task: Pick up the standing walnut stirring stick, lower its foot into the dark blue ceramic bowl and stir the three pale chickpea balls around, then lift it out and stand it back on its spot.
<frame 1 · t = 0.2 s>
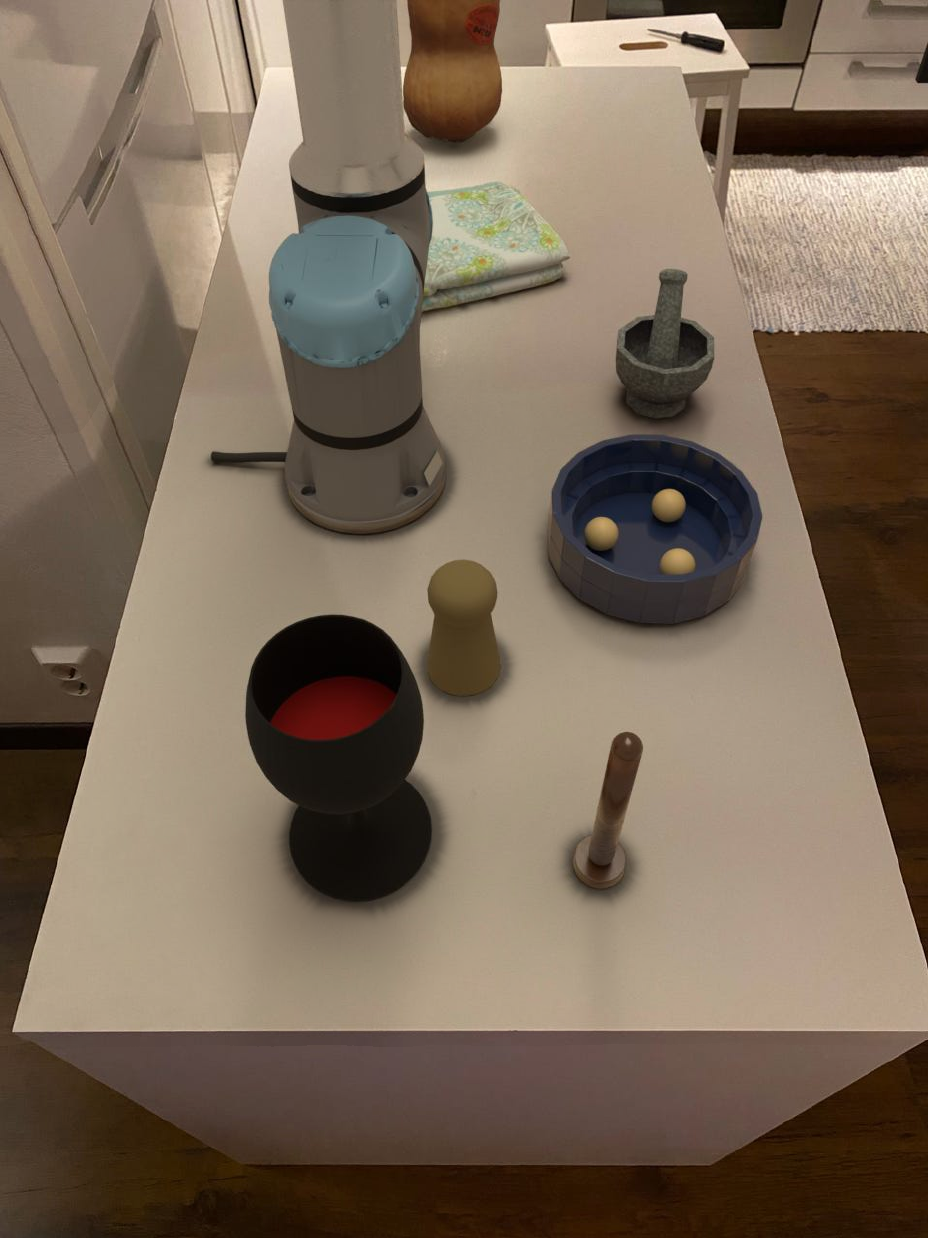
chickpea 3: (677, 565, 81), point 2 cm above the counter, touching bowl
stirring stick: (598, 864, 67), on the counter
chickpea 1: (668, 505, 86), point 2 cm above the counter, touching bowl
towel: (461, 262, 115), on the counter
chickpea 2: (601, 533, 84), point 2 cm above the counter, touching bowl
butternut squash: (454, 138, 135), on the counter
wine glass: (361, 834, 69), on the counter
mortar and pestle: (655, 396, 99), on the counter
bowl: (645, 550, 85), on the counter
cork: (463, 666, 78), on the counter
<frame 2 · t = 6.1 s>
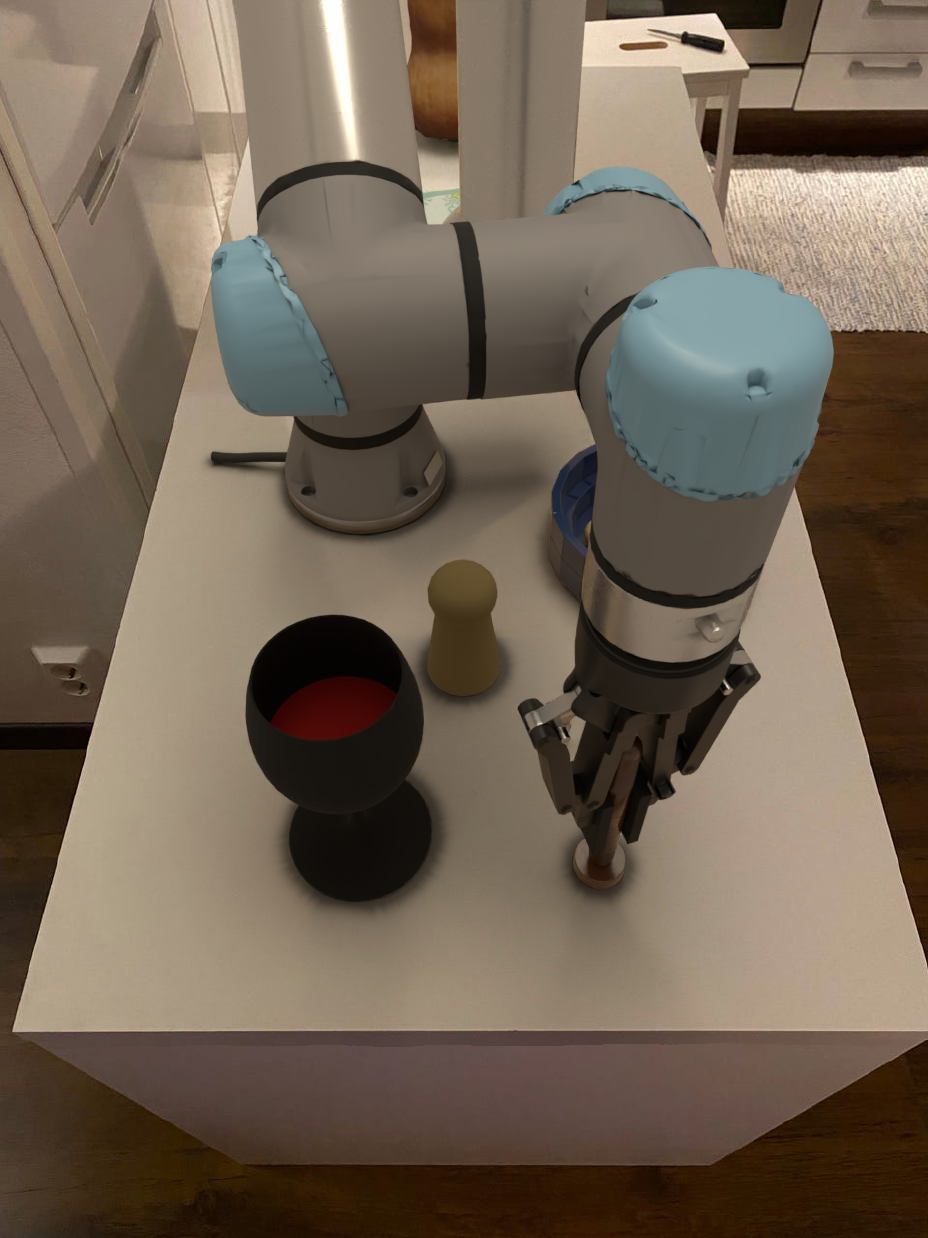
hand: (606, 830, 62), 5 cm above the counter, tool pointing down, fingers closed on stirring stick, 2 cm apart
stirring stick: (598, 864, 67), on the counter, touching gripper
everything else where it was.
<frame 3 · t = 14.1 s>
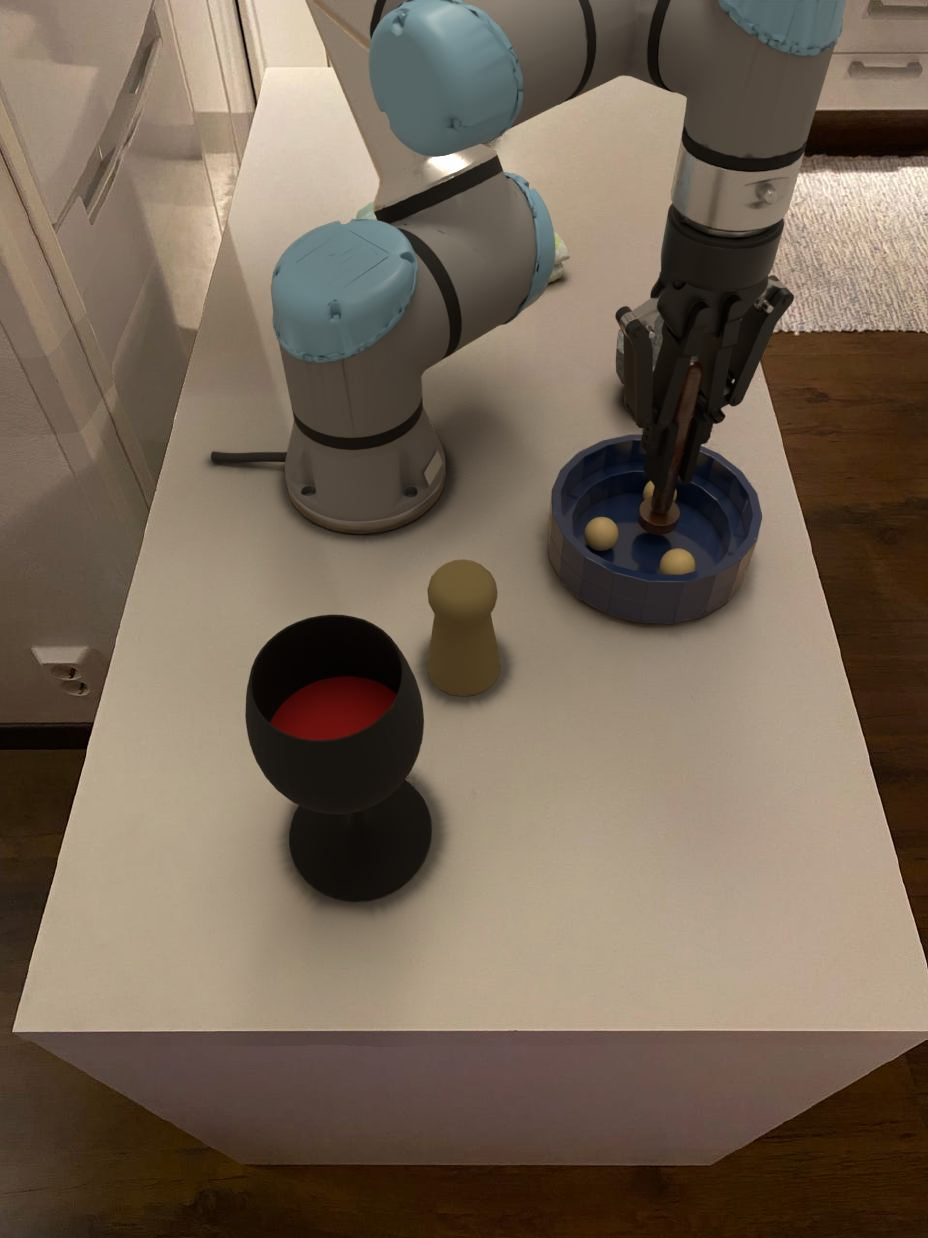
hand: (667, 474, 80), 8 cm above the counter, tool pointing down, fingers closed on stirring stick, 2 cm apart
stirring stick: (657, 520, 84), point 2 cm above the counter, touching gripper
chickpea 1: (659, 494, 87), point 2 cm above the counter, tilted 61°, touching bowl
everything else where it was.
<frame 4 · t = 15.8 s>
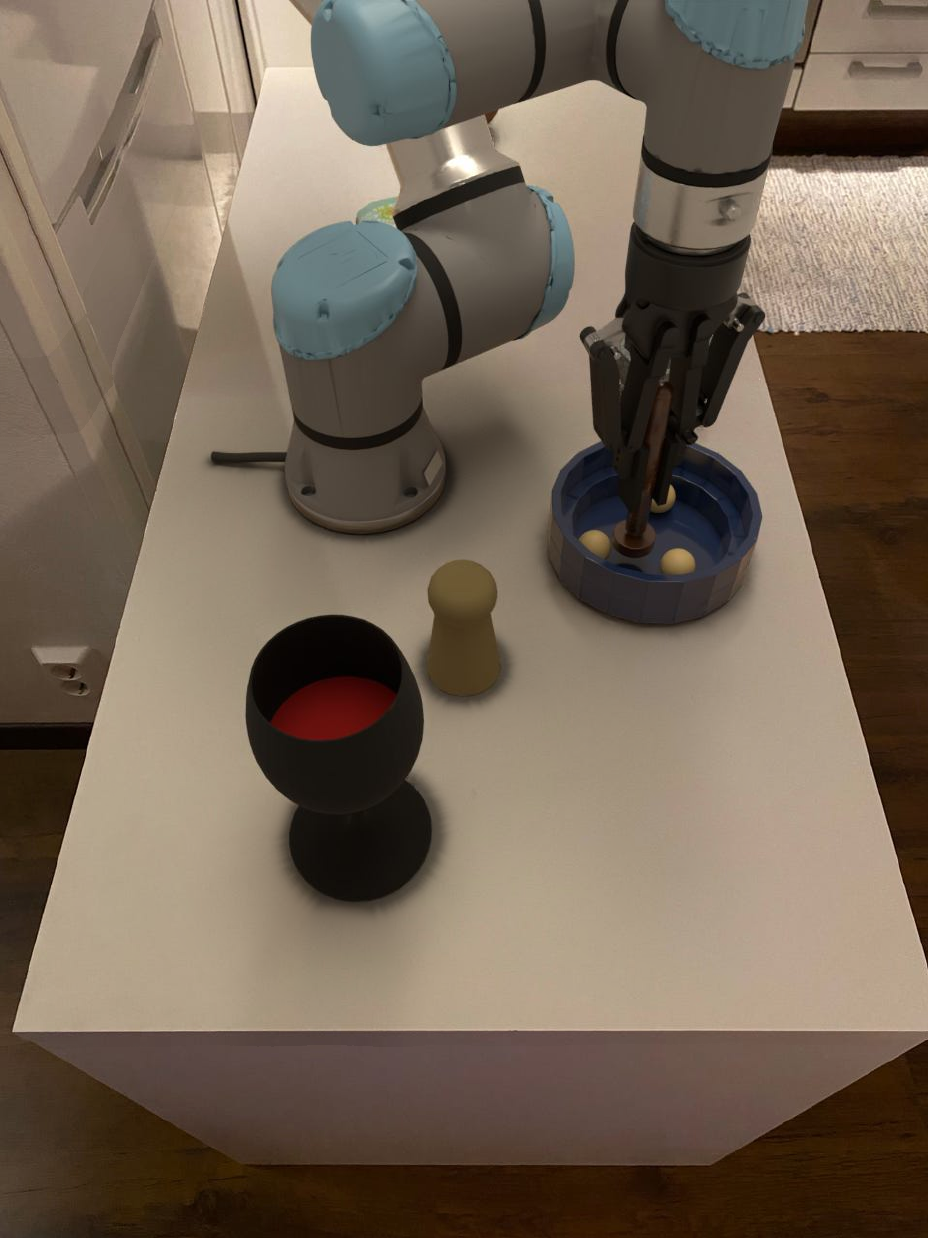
hand: (641, 497, 78), 8 cm above the counter, tool pointing down, fingers closed on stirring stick, 2 cm apart
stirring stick: (632, 542, 82), point 3 cm above the counter, touching gripper
chickpea 1: (658, 496, 86), point 2 cm above the counter, tilted 52°, touching bowl
chickpea 2: (593, 547, 83), point 2 cm above the counter, tilted 68°, touching bowl
everything else where it was.
when the fingers open (5 cm above the counter, at t = 25.2 s): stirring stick stays where it is, on the counter.
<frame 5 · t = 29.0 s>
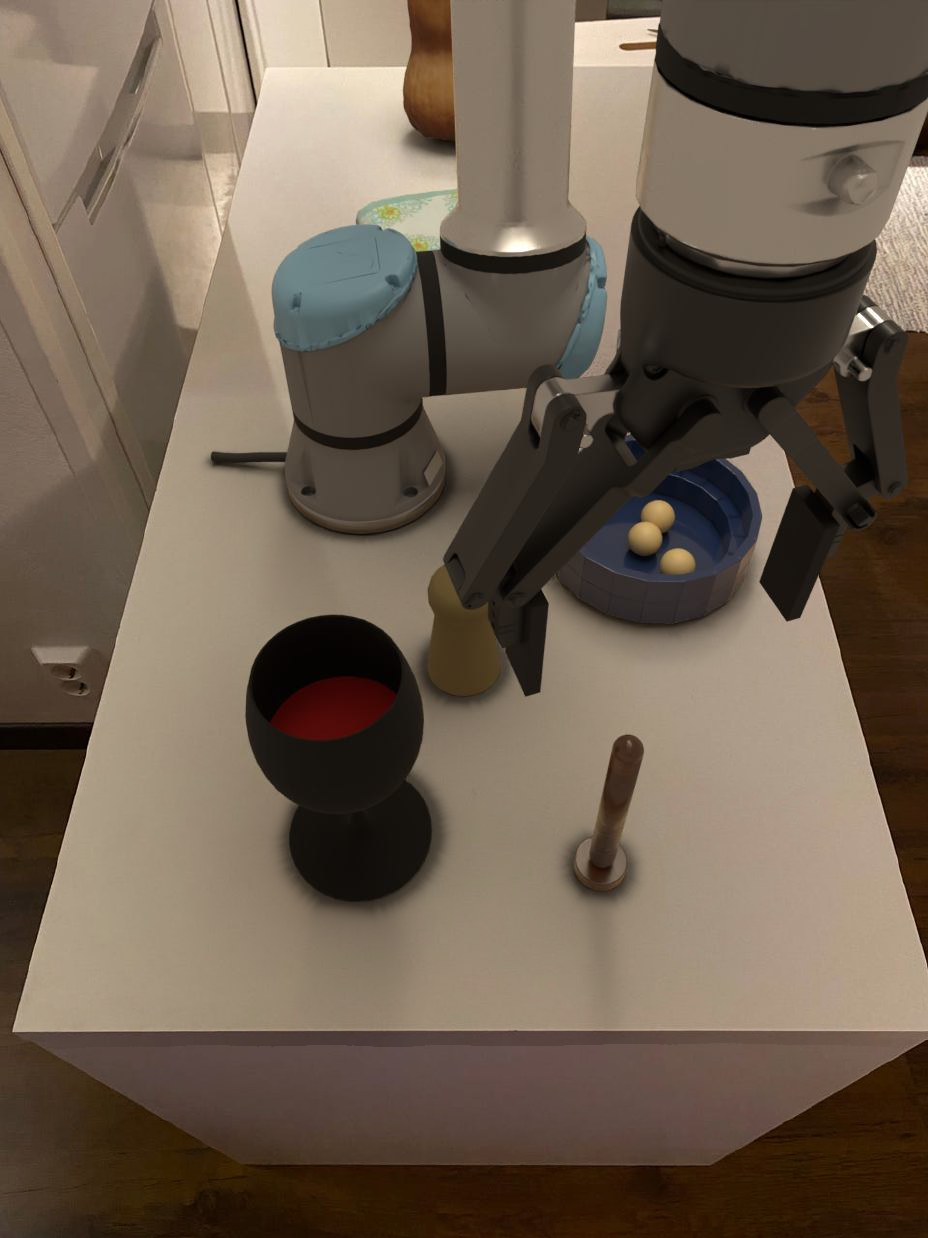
hand: (654, 635, 46), 27 cm above the counter, tool pointing down, fingers open, 13 cm apart
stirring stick: (599, 867, 67), on the counter
chickpea 1: (657, 517, 85), point 2 cm above the counter, tilted 55°, touching bowl
chickpea 2: (644, 538, 83), point 2 cm above the counter, tilted 119°, touching bowl
everything else where it was.
at the end: chickpea 2 moved 3.8 cm from its start; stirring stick inside the target area (0.2 cm from its centre), on the counter; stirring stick tilted 0° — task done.
